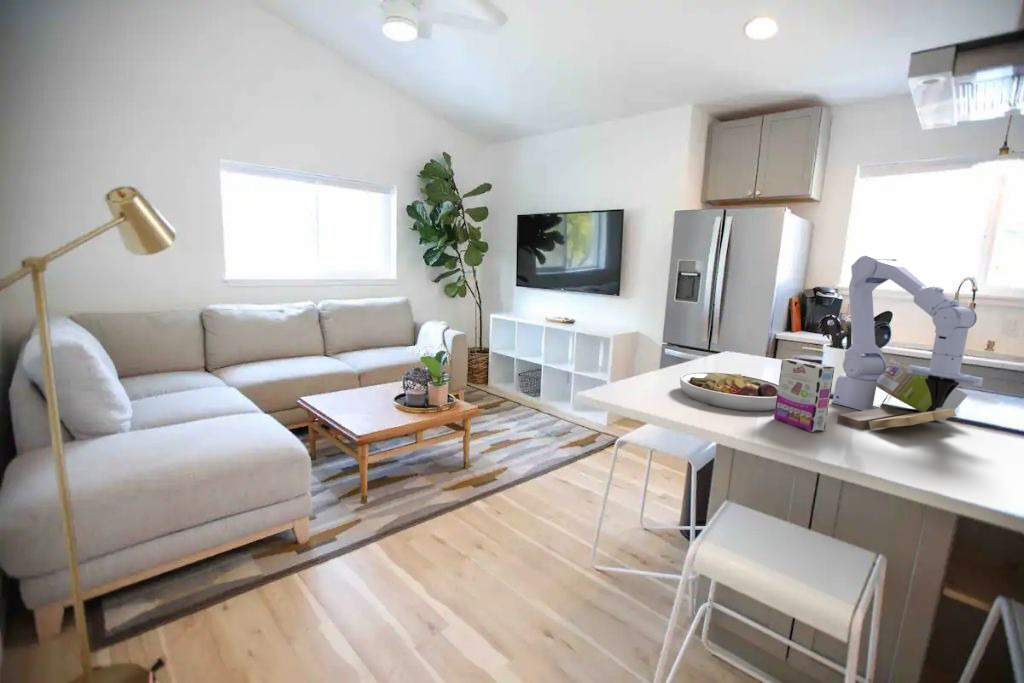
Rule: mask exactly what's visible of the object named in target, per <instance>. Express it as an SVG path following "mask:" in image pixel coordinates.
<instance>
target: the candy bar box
mask: <svg viewBox="0 0 1024 683" xmlns="http://www.w3.org/2000/svg"><path fill="white" fill-rule="evenodd" d="M834 374H835V367H834V366H831V365H825V364H822V363H817V362H811V361H807V360H802V359H797V358H782V359H781V365H780V373H779V378H778V379H779V380H778V384H779V386H778V393H777V400H776V407H775V409H774V413H773V414H774V416H773V418H774V420H776V421H778V422H782V423H784V424H787V425H790V426H792V427H795V428H799V429H801V430H804V431H805V432H809V433H819V432H826V424H827V419H828V411H829V405H830V398H831V392H832V386H833V382H834Z"/></svg>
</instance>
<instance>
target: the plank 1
mask: <svg viewBox="0 0 1024 683" xmlns="http://www.w3.org/2000/svg"><path fill="white" fill-rule="evenodd" d="M933 421H934V422H935V420H934V418H933V415H932V413H925V414H916V415H907V416H899V417H890V418H885V419H880V420H874V421H869V425H870V428H869V429H870V430H874V429H876V430H877V429H885V428H896V427H905V426H906V427H907V426H913V425H914V426H915V425H918V424H923V423H929V422H933Z"/></svg>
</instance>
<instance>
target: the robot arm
mask: <svg viewBox="0 0 1024 683" xmlns="http://www.w3.org/2000/svg"><path fill="white" fill-rule="evenodd" d="M850 270H851V278H850V282H849V285H848V294H849V312H850V326H851V327H850V328H851V341H852V342H851V343H852V344H851V346H849V348H847V349H846V350H845V351H844V359H843V362H842V368H843V372H844V373H841V374H840V375H839V376H837V378H836V381H835V383H834V389H833V390H834V391H833V396H832V400H831V401H830V402H831V403H833V404H836V405H839V406H840V405H841V406H842V407H843V406H844V407H847V408H851V409H854V410H859V411H864V410H870V409H876V408H880V407H879V406H876V405H874V403H875V402H874V401H875V398H876V390H877V387H876V385H877V380H878V379H879V377H880V375H882V374H883V373H884V372H885V371H886V367H887V365H886V364H887V361H886V360H885V358H884V355H883V350H882V349H881V348H880V347H878V345H877V344H876V335H875V334H876V332H875V331H876V330H875V316H874V314H875V312H874V298H873V291H874V290H875V289H876V288H877V287H878V286H880V285H882V284H884V283H885V282H888V281H890V280H891V281H892V283H895V284H896V285H898V286H899V287H900V288H902V289H903V290H905V291H906V292H908V293H909V294H911V296H913V303H914V304H915V305H917V306H918V307H919V308H920V309H921V310H922V311H923V312H925V313H926V314H927V315H928V316H930V317H931V318H932V323H933V325H934V327H935V331H934V333H935V337H934V342H933V348H932V353H931V357H930V358H931V359H930V364H929V367H926V366H919V365H913V364H910V365H911V366H908V370H907V373H911V374H919V375H924V376H928V378H927V379H925V382H926V384H927V386H928V388H929V391H930V395H931V400H932V407H936V408H941V407H943V404H944V402H945V400H946V399H947V397H948V396H949V394H950V393H951V392H952V391H953V390H954V389H955V388H957V387H958V386H959V384H966V385H972V386H974V387H982V386H983V383H984V382H983V381H984V377H979V376H974V375H971V374H966V373H962V372H961V367H962V363H963V357H964V353H965V348H966V345H967V344H966V343H967V338H968V334H969V329H970V328H972V327H974V326H975V324H976V323H977V320H978V316H977V313H976V311H975V310H974V309H973V308H972V307H971V306H967V305H960V302H959V301H958V300H956V299H953V298H952V297H949V295H947V294H945V293H944V292H945V291H944V289H943V288H942V287H939V286H934V285H933V286H927V285H925V284H924V283H923V282H922V281H921V280H920V279H918V277H917V276H915V275H914V274H913V273H912V272H910V271H909V270H908V269H907V268H906V267H904V264H903V263H902V262H901V261H898V260H897V258H895V257H892V256H887V257H886V256H885V257H884V256H871V255H863V256H861V257H859V258H858V259H856V260H855V261H854V263H853V264H852V265H851V268H850Z"/></svg>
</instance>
